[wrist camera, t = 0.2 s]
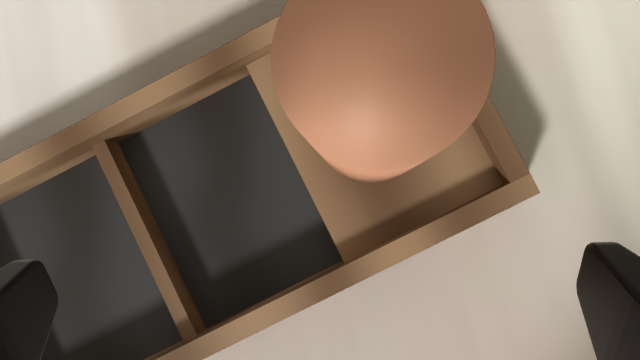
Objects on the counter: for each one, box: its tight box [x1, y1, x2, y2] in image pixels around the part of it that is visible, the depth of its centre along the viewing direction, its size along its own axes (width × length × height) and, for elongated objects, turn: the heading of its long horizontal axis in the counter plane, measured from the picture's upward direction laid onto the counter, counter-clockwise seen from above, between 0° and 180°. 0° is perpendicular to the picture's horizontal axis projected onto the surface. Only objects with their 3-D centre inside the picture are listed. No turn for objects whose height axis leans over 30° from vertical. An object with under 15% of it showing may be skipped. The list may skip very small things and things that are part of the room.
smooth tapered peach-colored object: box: [271, 0, 495, 183], centre depth 16 cm, size 5×5×10 cm
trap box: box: [0, 17, 540, 360], centre depth 22 cm, size 30×11×2 cm, turn 117°
